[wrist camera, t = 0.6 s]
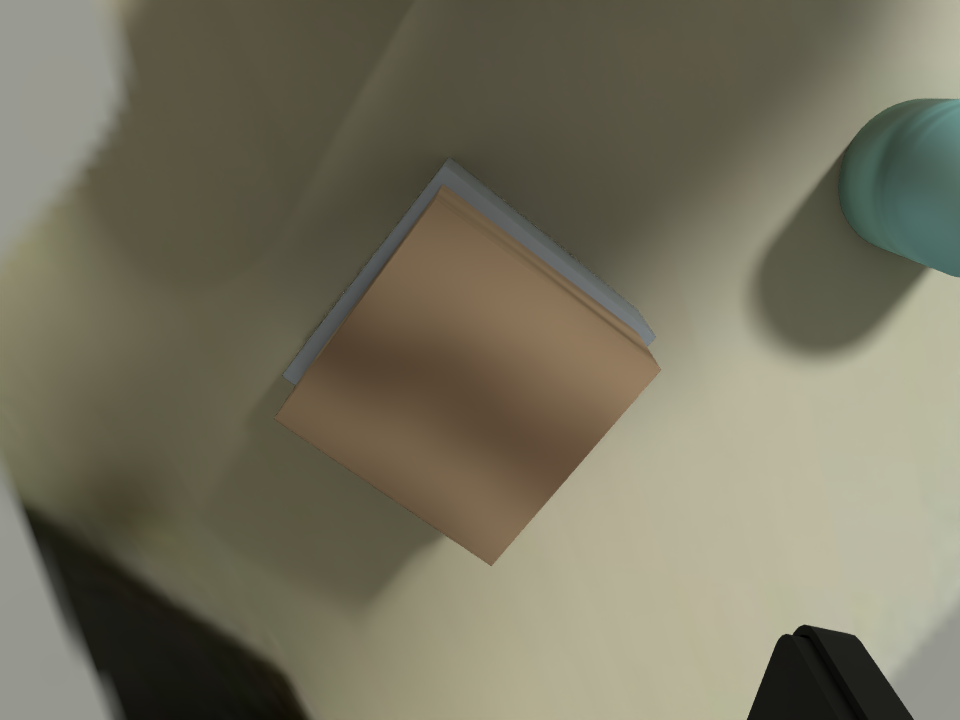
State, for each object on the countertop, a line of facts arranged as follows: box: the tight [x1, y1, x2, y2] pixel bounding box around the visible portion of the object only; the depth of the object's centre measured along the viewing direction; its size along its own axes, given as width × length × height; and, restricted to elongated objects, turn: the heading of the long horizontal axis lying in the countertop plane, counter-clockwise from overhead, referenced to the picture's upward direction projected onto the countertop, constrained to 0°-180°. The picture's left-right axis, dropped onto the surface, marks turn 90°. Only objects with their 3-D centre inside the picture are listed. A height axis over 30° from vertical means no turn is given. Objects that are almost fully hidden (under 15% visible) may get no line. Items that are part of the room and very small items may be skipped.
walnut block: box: [274, 184, 661, 566], centre depth 30 cm, size 9×9×4 cm
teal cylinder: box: [838, 99, 960, 277], centre depth 32 cm, size 6×6×6 cm
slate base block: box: [282, 157, 656, 386], centre depth 35 cm, size 10×10×4 cm
